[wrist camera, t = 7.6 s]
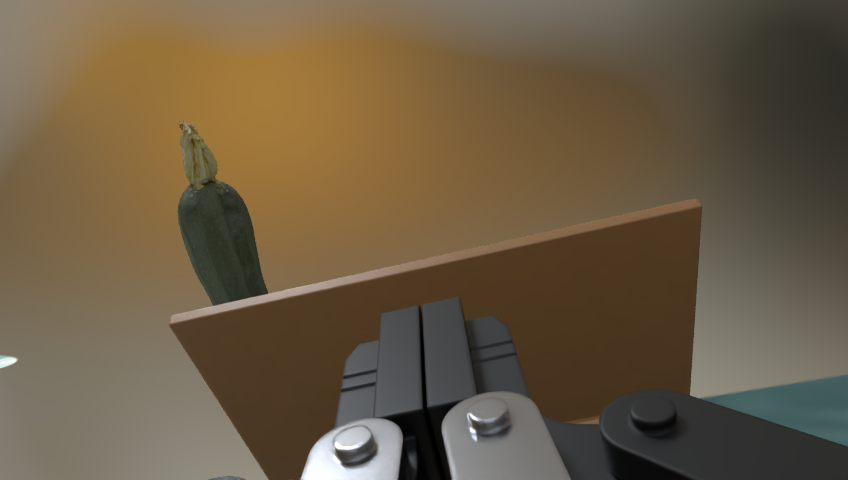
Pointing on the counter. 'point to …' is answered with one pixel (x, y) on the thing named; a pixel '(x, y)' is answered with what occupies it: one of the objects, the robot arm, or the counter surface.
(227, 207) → the vegetable
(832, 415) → the counter surface
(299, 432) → the flap
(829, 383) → the counter surface
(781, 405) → the counter surface
